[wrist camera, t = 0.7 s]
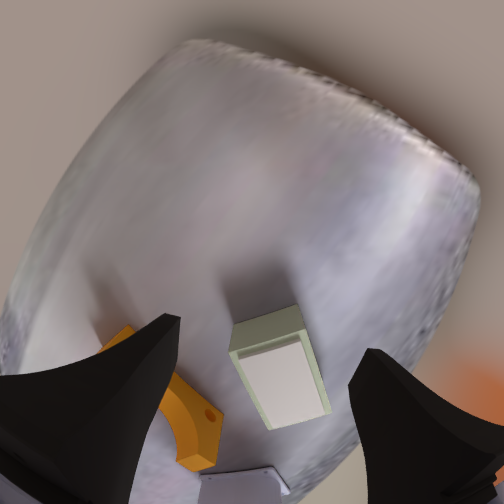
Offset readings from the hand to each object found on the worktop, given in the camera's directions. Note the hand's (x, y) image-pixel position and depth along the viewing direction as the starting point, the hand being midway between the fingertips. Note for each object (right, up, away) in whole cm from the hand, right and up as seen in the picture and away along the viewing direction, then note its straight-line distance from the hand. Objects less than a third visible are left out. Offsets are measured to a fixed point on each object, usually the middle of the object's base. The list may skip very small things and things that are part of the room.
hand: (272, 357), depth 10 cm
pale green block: (+2, -4, +11) cm, 12 cm away
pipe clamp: (-9, -8, +13) cm, 17 cm away
